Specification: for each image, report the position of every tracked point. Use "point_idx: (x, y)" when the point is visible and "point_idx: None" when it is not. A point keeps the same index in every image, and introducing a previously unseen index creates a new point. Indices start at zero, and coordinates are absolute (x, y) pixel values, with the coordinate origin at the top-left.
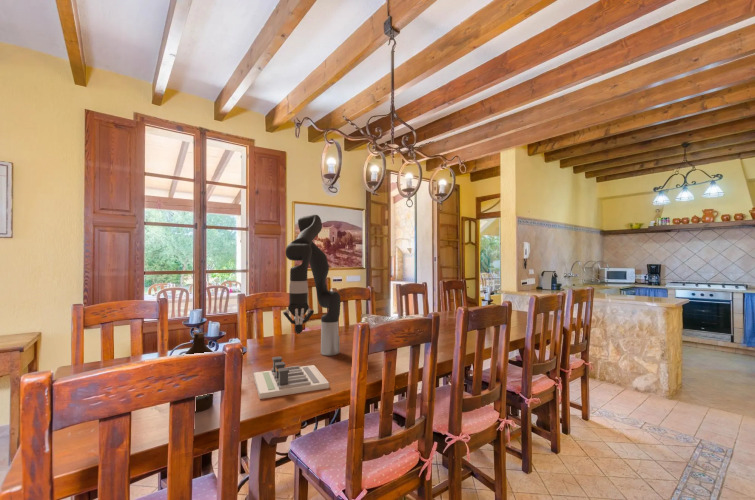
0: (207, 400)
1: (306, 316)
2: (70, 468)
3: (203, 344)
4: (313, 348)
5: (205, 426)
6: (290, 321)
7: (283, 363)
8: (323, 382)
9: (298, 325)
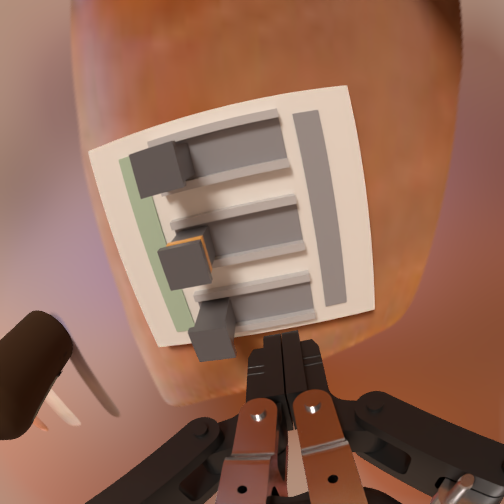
0: (64, 365)
1: (416, 446)
2: (37, 425)
3: None
4: None
5: (108, 407)
6: (198, 474)
7: (201, 272)
8: (359, 303)
9: (287, 427)
